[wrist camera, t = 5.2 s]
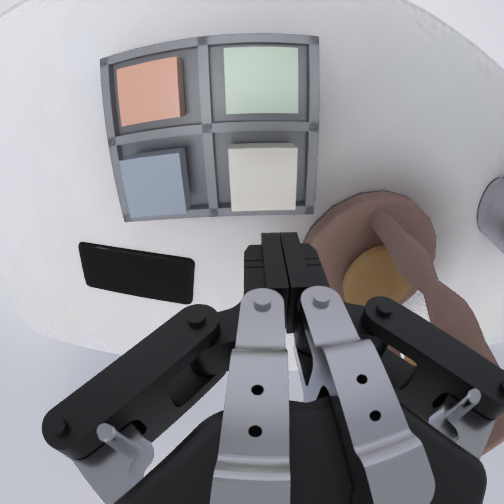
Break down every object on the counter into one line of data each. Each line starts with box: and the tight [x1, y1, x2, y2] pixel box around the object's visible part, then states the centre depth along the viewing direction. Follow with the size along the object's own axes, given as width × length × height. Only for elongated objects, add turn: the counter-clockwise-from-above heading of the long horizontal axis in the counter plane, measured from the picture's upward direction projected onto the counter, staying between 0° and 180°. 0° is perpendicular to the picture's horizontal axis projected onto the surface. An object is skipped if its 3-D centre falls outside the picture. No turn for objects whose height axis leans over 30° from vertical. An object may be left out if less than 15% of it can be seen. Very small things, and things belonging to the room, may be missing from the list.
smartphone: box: [79, 242, 195, 304], centre depth 31 cm, size 7×1×15 cm
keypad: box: [100, 33, 319, 222], centre depth 21 cm, size 18×16×2 cm
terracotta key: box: [117, 56, 186, 127], centre depth 18 cm, size 5×5×2 cm
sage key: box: [224, 47, 298, 114], centre depth 16 cm, size 5×5×2 cm
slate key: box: [119, 147, 191, 218], centre depth 21 cm, size 5×5×2 cm
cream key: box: [228, 143, 298, 212], centre depth 21 cm, size 5×5×2 cm
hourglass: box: [303, 191, 504, 456], centre depth 20 cm, size 18×18×25 cm
